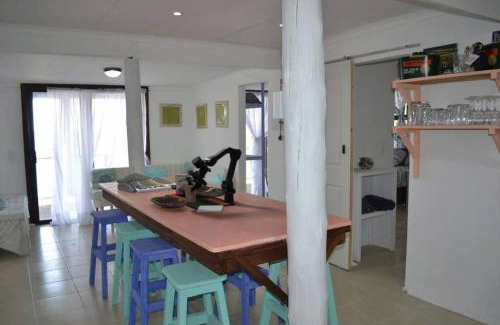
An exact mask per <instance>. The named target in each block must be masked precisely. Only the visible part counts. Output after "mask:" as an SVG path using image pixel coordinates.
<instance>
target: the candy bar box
mask: <svg viewBox="0 0 500 325" xmlns="http://www.w3.org/2000/svg"><path fill="white" fill-rule="evenodd" d="M187 174H188V173H176V174H175V175H174V176H175V181H174V183H176V189H175V195H176V196H177V195H180V196H181V195H183V193H182V192H180V191H179V190H178V189H180V188H184V189H185V186H187V185H188V182H187V181H186V180H185V177H187V176H189V177H191V176H190V175H187Z"/></svg>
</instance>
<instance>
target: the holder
mask: <svg viewBox="0 0 500 325" xmlns="http://www.w3.org/2000/svg"><path fill="white" fill-rule="evenodd" d="M163 185H164V186H165V187H156V188H151V189H150V188H147V189H141V190H140V189H138V188H135V189H136V190H137V192H136V193H137V194H140V193H141V194H142V193H149V192H151V193H152V192H157V191H159V192H160V191H167V190H173V189H172V188H171V185H176V183H175V182H174V183H168V184H163Z"/></svg>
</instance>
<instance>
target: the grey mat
mask: <svg viewBox="0 0 500 325" xmlns="http://www.w3.org/2000/svg"><path fill="white" fill-rule="evenodd" d="M223 208H224V205H199V206H198V208H197V209H196V213H221V212H222V211H223Z"/></svg>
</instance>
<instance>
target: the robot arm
mask: <svg viewBox="0 0 500 325" xmlns="http://www.w3.org/2000/svg"><path fill="white" fill-rule="evenodd" d="M242 153H243V152H242V150H241V149H240V148H234V147H230V146H224V147H223V148H222V149H221V150H219V151H217V152H216V153H215V154H213V155H211V156H208V157H206V158H204V159H202V158H201V156H200V155H199V156H196V157H195V158H193V159H192V160H191V164H192V166H194V167H195V170H192V169H191V170H190V169H188V171H187V173H186V174H187V175H190V177H189V176H187V177H185V180H186V181H187V182H188V185H187V186H189V185H193V188H192V189H191V192H193V191H195V190H196V191H197V190H198V189H201V188H205V187H207V186H208V182H207V181H206V180H205V178H206V176H207V173H212V169H211V167H214V166H216V164H217V163H218V161H219V160H220V159H222V158H224V157H225V156H226V155H229V160H230V161H229V165H228V169H227V172H226V177H225V179H224V180H222V181H221V184H220V188H221V190H222V193H224V195H223V198H224V199H223V201H224V203H234V202H235V196H234V195H235V194H236V192H237V190H236V189H235V188H234V181H233V179H234V175H235V172H236V168H237V162H238V161H239V160H240V159H241V156H242ZM196 169H197V170H196Z"/></svg>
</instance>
